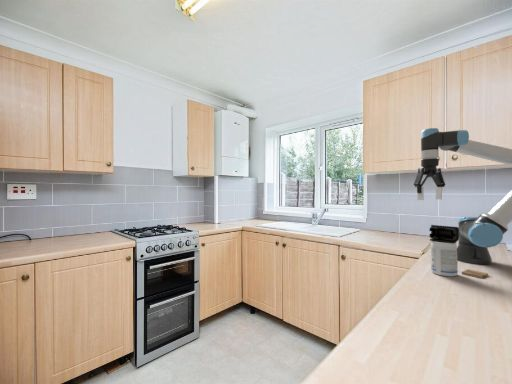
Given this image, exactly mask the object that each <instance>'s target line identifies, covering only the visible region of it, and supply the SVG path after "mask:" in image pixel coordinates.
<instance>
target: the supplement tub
mask: <svg viewBox="0 0 512 384" xmlns="http://www.w3.org/2000/svg"><path fill="white" fill-rule="evenodd" d="M430 242H431V243H430V261H431V262H430V263H431V264H430V266H431V272H432V273H433V274H435V275H438V276H442V277H443V276H444V277H456V276H457V275H458V273H459V271H458V260H457V247H458V245H457V242H456V243H445V242H437V241H430Z"/></svg>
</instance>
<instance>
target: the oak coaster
mask: <svg viewBox="0 0 512 384" xmlns="http://www.w3.org/2000/svg"><path fill="white" fill-rule="evenodd" d="M461 275H464V276H468V277H469V276H470V277H473V278H476V279H477V278H478V279H484V278H487V277H489V273H488V272H484V271H483V272H482V271H478V270H474V269H469V268H468V269H465V270H463V271H461Z"/></svg>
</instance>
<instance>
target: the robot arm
mask: <svg viewBox="0 0 512 384" xmlns="http://www.w3.org/2000/svg"><path fill="white" fill-rule="evenodd" d="M439 149H440V150H441V151H444V152H445V151H450V152H452V153H453V152H455V153H457V154H458V153H459V154H463V155H467V156H471V157H476V158H479V159H483V160H487V161H491V162H496V163H500V164H504V165H509V166H512V148H508V147H503V146H499V145H494V144H490V143H485V142H480V141H475V140H471V139H470V135H469V131H468V130H466V129H462V130H461V129H458V130H450V131H439V128H436V127H434V128H433V127H431V128H430V127H429V128H425V129H423V130H421V133H420V151H421V153H420V155H421V157H420V158H421V160H420V167H418V168H417V169H418V172H417V174H416V176H415V177H416V178H415V180H414V183H413V186H414V187H415V188H416V192H417V201H422V200H423V201H424V199H425V197H424V195H425V193H424V190H425V189H424V185H425V183H426V181H427V179H428V178H432V181H433V182H434V184H435V185H436V187H435V200H443V198H442V197H443V188H445V186H446V183H445V179H444V176H443V174H442V168H441V167H439V168H437V167H438V166H439V164H440V163H439V157H440V156H439V154H440V153H439ZM511 222H512V189H511V190H509V191H508V192H507V193H506V194H505V195H504V196H503V197H502V199H500V200H499V201H498V202H497V203H496V204H495V205H494V206H493V207H492V208H491V209H490V210H489V211H488V212H486V213H481V214H479V216H475V217H474V216H473V217H472V216H463V217H462V216H461V217H459V218H458V222H457V224H458V228H459V240H458V245H457V261H459V262H464V263H469V264H475V265H492V262H493V261H492V260H493V259H492V256H491V254H490V252H489V251H490V250H489V249H488V248H493V247H497V246H498V245H499V244H500V243H501V242H503V241H502V240H503V238H504V235H505V233H506V232H507V231H508V230H509V227H508V225H509V224H510V223H511Z"/></svg>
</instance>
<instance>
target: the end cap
mask: <svg viewBox="0 0 512 384" xmlns="http://www.w3.org/2000/svg"><path fill="white" fill-rule="evenodd" d="M429 232H430V233H429V238H430V239H429V241H430V242H431V241H437V242H445V243H456V244H457V242H459V226H452V225H450V226H448V225H438V224H430V227H429Z"/></svg>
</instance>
